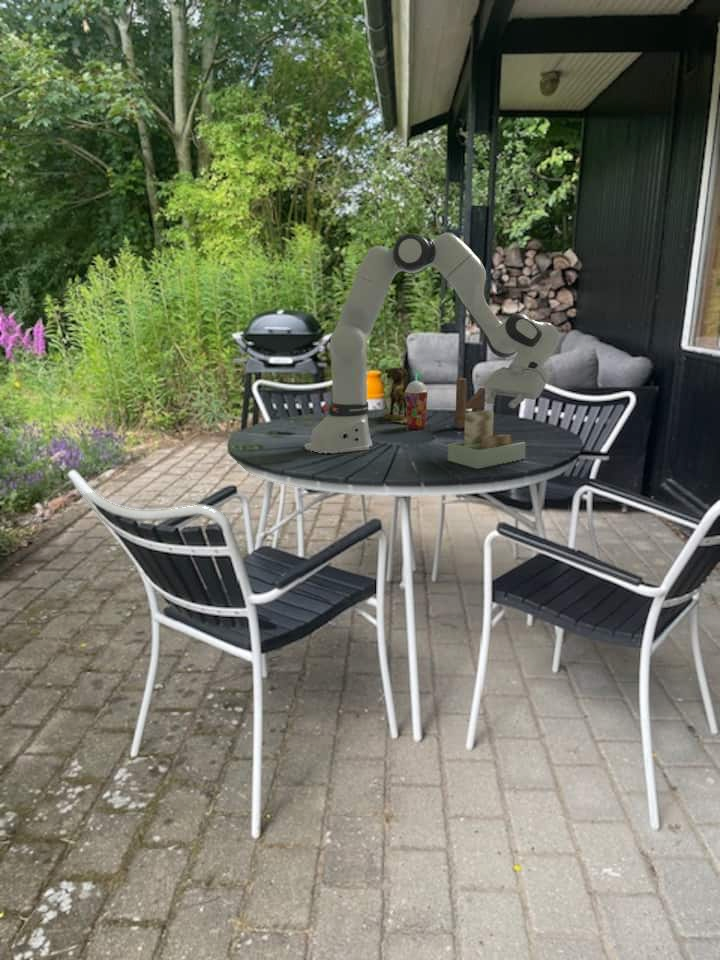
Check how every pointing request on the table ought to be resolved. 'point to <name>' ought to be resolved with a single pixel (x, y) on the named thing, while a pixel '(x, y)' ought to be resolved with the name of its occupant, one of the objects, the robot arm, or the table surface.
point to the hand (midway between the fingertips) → (499, 404)
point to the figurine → (397, 395)
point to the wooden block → (474, 403)
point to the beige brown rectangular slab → (478, 426)
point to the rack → (485, 454)
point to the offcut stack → (496, 441)
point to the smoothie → (416, 404)
